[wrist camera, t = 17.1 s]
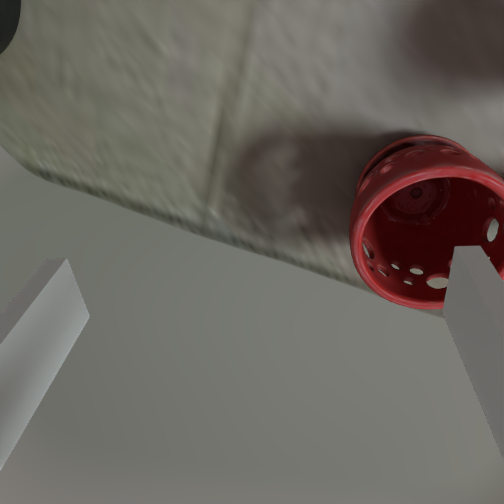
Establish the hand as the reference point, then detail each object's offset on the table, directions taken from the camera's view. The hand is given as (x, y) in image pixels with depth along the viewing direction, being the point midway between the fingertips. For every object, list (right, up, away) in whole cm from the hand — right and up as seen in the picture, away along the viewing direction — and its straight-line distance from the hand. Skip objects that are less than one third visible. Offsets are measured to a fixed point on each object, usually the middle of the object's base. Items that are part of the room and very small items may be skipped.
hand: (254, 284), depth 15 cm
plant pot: (+16, +8, +29) cm, 34 cm away
